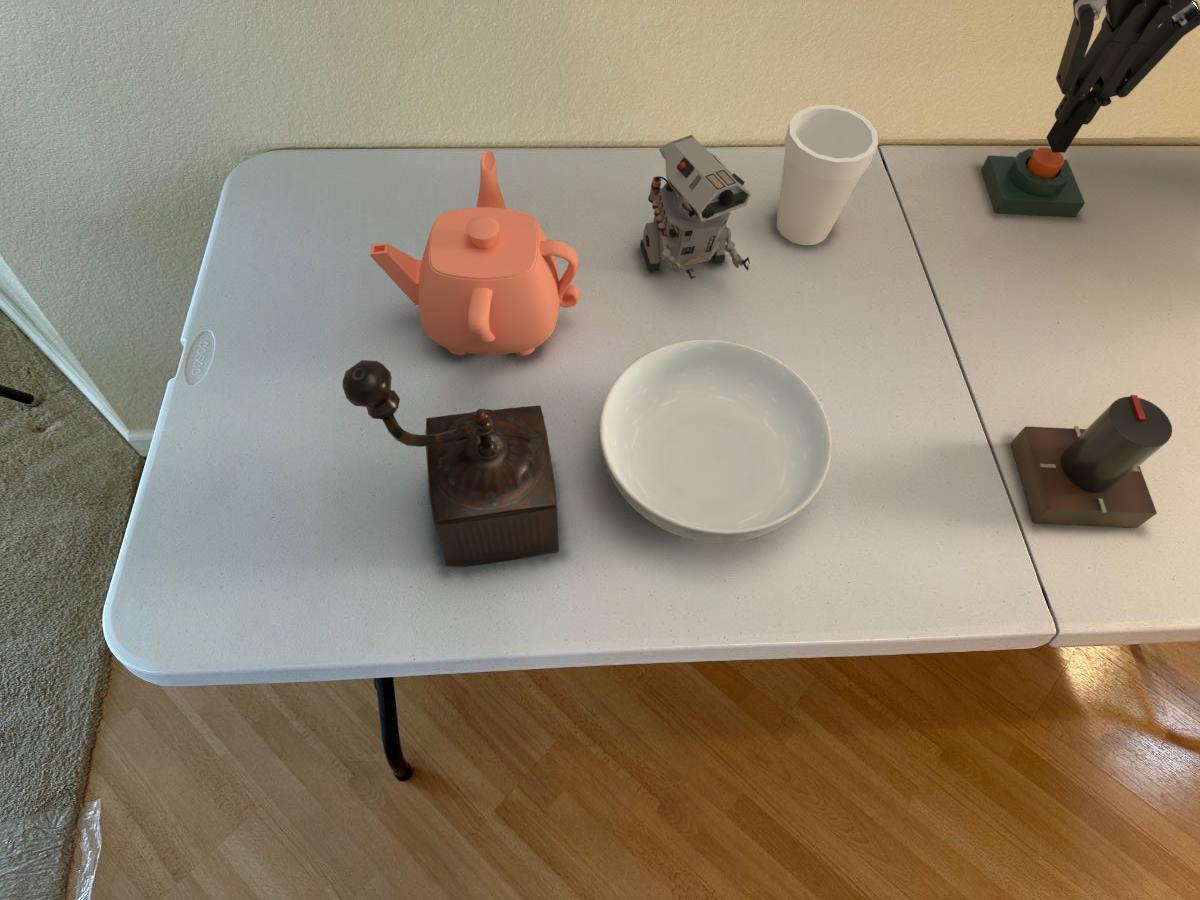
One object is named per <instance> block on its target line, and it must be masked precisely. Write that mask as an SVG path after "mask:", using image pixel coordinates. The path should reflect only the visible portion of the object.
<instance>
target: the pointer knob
mask: <svg viewBox="0 0 1200 900" xmlns="http://www.w3.org/2000/svg"><path fill="white" fill-rule="evenodd" d="M1085 429H1086V430H1085V431H1084V432H1083V433H1082V434H1081V435H1080V436H1079V437H1078V438H1077V439H1076V440H1075V441H1074V442H1073V443H1072V444H1071V445H1070V446H1069V447H1068V448H1067V449H1066V450H1065V451H1064V453H1063V455H1062V467H1063V469H1064V471H1065V473H1066V475H1067V476H1068V477H1069V478H1070V479H1071V480H1072V481H1073V482H1074V483H1075V484H1077V485H1078V486H1080V487H1082V488H1084V489H1086V490H1089V491H1093V492H1105V491H1108V490H1110V489H1112V488H1113V487H1115V486H1116V485H1117V484H1118V483H1119V482H1121V481H1122V480H1123V479H1124V478H1125V477H1127V476H1128V475H1129V474H1130V473H1131V472H1132V471H1134V470H1135V469H1136V468H1137V467H1138V466H1140V467H1141V465H1142V464H1143V463H1145V462H1146V461H1147V460H1148V459H1149V458H1151V457H1152V456H1153V455H1154V454H1155V453H1156V452H1158V451H1159V450H1160V449H1161V448H1162V447H1163V446H1165V445H1166V444H1168V443H1169V441H1170V440H1171V438H1172V436H1173V425H1172V422H1171V420H1170V419H1169V417H1168V415H1166V413H1165V411H1163V409H1161V408H1160V407H1159V406H1157V405H1156V404H1155V403H1154V402H1151V401H1149V400H1147V399H1144V398H1142V397H1139V396H1138V394H1130V395H1129V396H1123V397H1120V398H1117V399H1115V401H1113V402H1112V403H1111V404H1110V405H1109V406H1108V407H1107V408H1106V409H1105V410H1104V411H1103V412H1102V413H1101V414H1100V415H1099V416H1098V417H1097V418H1096V419H1095V420H1094V421H1093V422H1092V423H1091V424H1090V425H1089V426H1088V427H1087V428H1085Z"/></svg>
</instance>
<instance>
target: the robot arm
mask: <svg viewBox="0 0 1200 900" xmlns="http://www.w3.org/2000/svg"><path fill="white" fill-rule="evenodd" d="M1104 7H1105V16H1104V18H1103V20H1102V22H1101V27H1100V30H1099V31H1098V33H1097V35H1096V36H1095V38H1094V40H1093V41H1092V43H1091V38H1092V36H1093V33H1094V28H1095V27H1094V26H1095V22H1096V21H1098V20H1099V19H1100V15H1101V13H1102V10H1103V8H1104ZM1072 9H1073V16H1074V17H1073V20H1072V23H1071V27H1070V30H1069V33H1068V37H1067V40H1066V43H1065V47H1064V50H1063V53H1062V56H1061V60H1060V63H1059V66H1058V69H1057V72H1056V75H1055V76H1056V77H1055V80H1056V83H1057V85H1058V87H1059V89H1060V92H1061V94H1062V95H1064V96H1063V97H1062V99H1061V100H1060V102H1059V104H1058V105H1057V107H1056V109H1055V111H1054V117H1055V122H1054V123H1053V125H1052V127H1051V129H1050V130H1049V132H1048V134H1047V135H1046V140H1047V143H1048V145H1049V148H1050V149H1051V150H1052V152H1058V153H1060V154H1065V153H1066V152H1067V150H1068V149H1069V148H1070V145H1071V144H1072V142H1073V141H1074V140H1075V138H1076V136H1077V135H1078V133H1079V132H1080V130H1081V128H1082V127H1083V126H1084V125H1085V126H1086V125H1087V126H1088V125H1089V124H1090V123H1091V122H1092V121H1093V119H1094V118H1095V117H1096V115H1097V113H1098V112H1099V110H1100V108H1101V107H1107V106H1109V105H1111V104H1112V102H1113V101H1112V99H1111V98H1112V97H1113V98H1114V97H1118V98H1121V99H1122V98H1125V97H1127V96H1128V95H1130V93H1131V92H1132V91H1133V90H1134V89H1136V88H1137V86H1138V85H1139V84H1140V83H1141V82H1142V81H1143V80H1144V79H1145V78H1146V76H1148V74H1149V73H1150V72H1151V71H1152V70H1153V69H1154V68H1155V67H1156V66H1157V65H1158V64H1159V63H1160V62H1161V61H1162V60H1163V58H1164V57H1166V55H1168V53H1169V52H1170V51H1171V50H1172V49H1173V48H1174V47H1175V46H1176V45H1177V44H1178V42H1179V41H1181V39H1183V37H1185V36H1186V35H1188V34H1189V33H1190V32H1192V31H1193V30H1195V29H1196V28H1197V27H1199V26H1200V4H1199V2H1198V1H1197V0H1072ZM1090 43H1091V45H1090ZM1089 45H1090V47H1089ZM1088 47H1089V49H1088Z"/></svg>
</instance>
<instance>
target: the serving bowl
mask: <svg viewBox="0 0 1200 900" xmlns="http://www.w3.org/2000/svg"><path fill="white" fill-rule="evenodd" d="M831 431H832V430H831V426H830V423H829V419H828V417H827V414H826V411H825V410H824V407H823V406H822V404H821V401H820V400H819V398H818V396H817V395H816V393H815V392H814V391H813V390H812V388H811V387H810V386H809V385H808V384H807V382H806V381H805V380H804V379H803V378H802V377H801V376H800V375H799V374H797V372H795V371H794V370H793V369H792V368H791V367H790V366H788V365H786V364H785V363H784V362H782V361H780V360H779V359H777V358H776V357H774V356H772V355H770V354H769V353H766V352H763V351H761V350H759V349H756V348H754V347H751V346H749V345H745V344H741V343H737V342H732V341H727V340H719V339H689V340H688V339H687V340H683V341H677V342H673V343H668V344H666V345H662V346H660V347H657V348H655V349H652V350H651V351H649V352H647V353H645V354H643V355H641V356H640V357H638V358H637V359H635V360H634V361H633V362H632V363H630V364H629V365H628V366H626V367H625V369H623V371H621V373H620V374H619V375H618V376H617V377H616V379H615V380H614V382H613V383H612V384H611V386H610V387H609V390H608V391H607V393H606V396H605V398H604V400H603V404H602V407H601V410H600V415H599V425H598V432H599V433H598V434H599V444H600V449H601V454H602V458H603V461H604V465H605V467H606V470H607V473H608V474H609V476H610V479H611V481H612V483H613V484H614V486H615V487H616V489H617V491H619V494H620V495H621V496H622V497H623V498H624V500H625V501H626V502H627V503H628V504H629V505H630V507H631V508H633V509H634V510H635V511H636V513H638V514H640V515H641V516H642V518H645V519H646V520H647V521H649V522H650V523H651V524H654V525H655V526H656V527H659V528H660V529H662V530H664V531H667V532H669V533H671V534H673V535H676V536H679V537H682V538H685V539H689V540H694V541H698V542H705V543H718V544H719V543H734V542H741V541H747V540H751V539H754V538H758V537H761V536H763V535H766V534H769V533H771V532H773V531H775V530H777V529H779V528H781V527H782V526H784V525H786V524H787V523H789V522H790V521H791V520H792V519H794V518H795V517H796V516H798V515H799V514H800V513H801V512H802V511H803V510H804V509H805V508H806V507H807V506H808V504H810V503H811V502H812V500H813V499H814V498H816V496H817V494H818V493H819V492H820V490H821V488H822V486H823V484H824V483H825V480H826V479H827V476H828V473H829V471H830V466H831V461H832V455H833V439H832V432H831Z"/></svg>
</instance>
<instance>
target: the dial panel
mask: <svg viewBox="0 0 1200 900" xmlns="http://www.w3.org/2000/svg"><path fill="white" fill-rule="evenodd" d="M1086 429H1087V428H1080V427H1079V425H1073V428H1069V427H1068V428H1067V427H1047V426H1028V425H1027V426H1024V427H1023V428H1022V429H1021V430H1020V432H1019V433H1018V434H1017V435H1016V436H1015V437H1014V438H1013V439H1012V440H1011V442H1010V445H1011V448H1012V452H1013V456H1014V459H1015V463H1016V466H1017V470H1018V474H1019V477H1020V480H1021V484H1022V488H1023V492H1024V495H1025V498H1026V502H1027V506H1028V510H1029V514H1030V517H1031V520H1032V523H1033V524H1053V525H1073V526H1092V527H1093V526H1094V527H1115V528H1116V527H1117V528H1118V527H1119V528H1135V529H1137V528H1139V527H1140V526H1142V525H1143V524H1144V523H1146V522H1147V521H1149V520H1150V519H1151V518H1153V517H1154V516H1156V515H1157V514H1158V511H1157V509H1156V506H1155V504H1154V501H1153V499H1152V496H1151V493H1150V489H1149V487H1148V485H1147V482H1146V479H1145V477H1144V474H1143V471H1142V469H1141V465H1140V466H1138V467H1137V468H1136V469H1135V470H1134V471H1132V472H1131V473H1130V474H1129V475H1128V476H1127V477H1125V478H1124V479H1123V480H1122V481H1121V482H1119V483H1118V484H1117V485H1116V486H1115V487H1113V488H1112V489H1110V490H1108V491H1105V492H1093V491H1089V490H1086V489H1084V488H1082V487H1080V486H1078V485H1077V484H1075V483H1074V482H1073V481H1072V480H1071V479H1070V478H1069V477H1068V476H1067V475H1066V473H1065V471H1064V469H1063V467H1062V455H1063V453H1064V451H1065V450H1066V449H1067V448H1068V447H1069V446H1070V445H1071V444H1072V443H1073V442H1074V441H1075V440H1076V439H1077V438H1078V437H1079V436H1080V435H1081V434H1082V433H1083V432H1084V431H1085V430H1086Z"/></svg>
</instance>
